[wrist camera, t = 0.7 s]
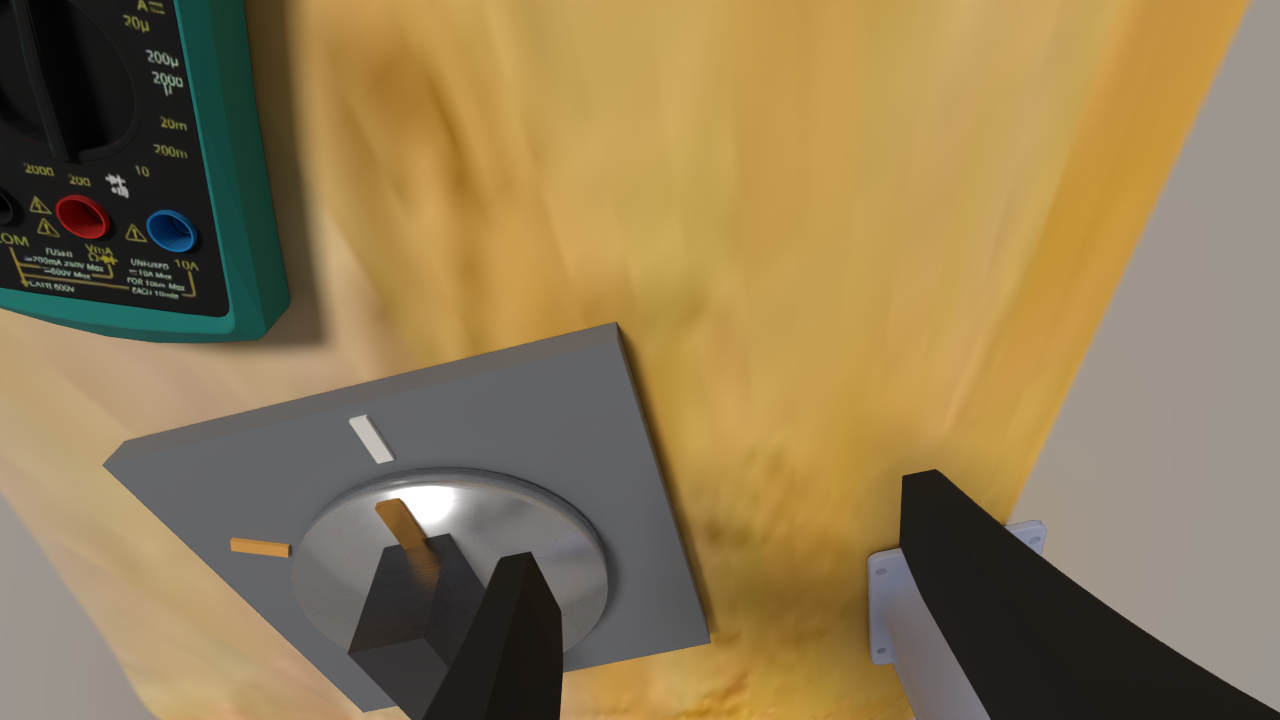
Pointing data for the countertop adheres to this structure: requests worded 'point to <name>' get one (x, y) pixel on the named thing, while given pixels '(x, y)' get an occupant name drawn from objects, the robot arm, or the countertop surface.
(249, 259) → the digital multimeter
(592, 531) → the dial
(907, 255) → the countertop surface
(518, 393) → the dial panel
